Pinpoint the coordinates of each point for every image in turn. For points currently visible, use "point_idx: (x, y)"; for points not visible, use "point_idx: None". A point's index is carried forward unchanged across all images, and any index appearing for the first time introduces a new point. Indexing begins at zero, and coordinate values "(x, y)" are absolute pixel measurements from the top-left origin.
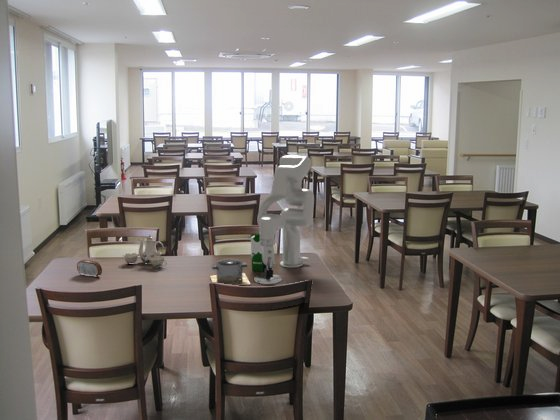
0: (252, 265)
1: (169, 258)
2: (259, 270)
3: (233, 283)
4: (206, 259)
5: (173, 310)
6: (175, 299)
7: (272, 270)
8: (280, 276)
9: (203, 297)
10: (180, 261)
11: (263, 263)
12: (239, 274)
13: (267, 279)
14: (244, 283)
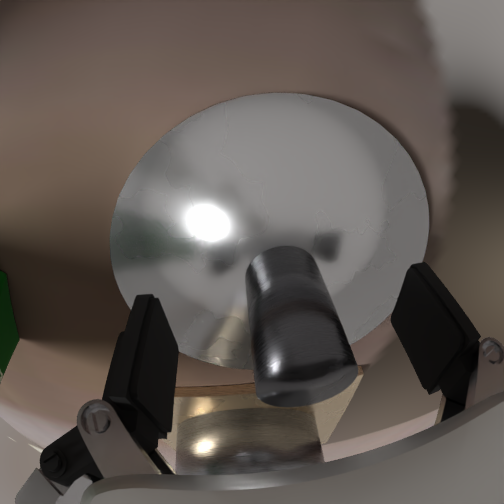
0: (7, 363)
1: (41, 443)
2: (10, 304)
3: (318, 420)
4: (2, 408)
5: (423, 430)
6: (367, 450)
7: (471, 332)
8: (235, 101)
9: (392, 428)
10: (49, 442)
11: (159, 453)
12: (311, 452)
13: (325, 282)
14: (344, 394)
